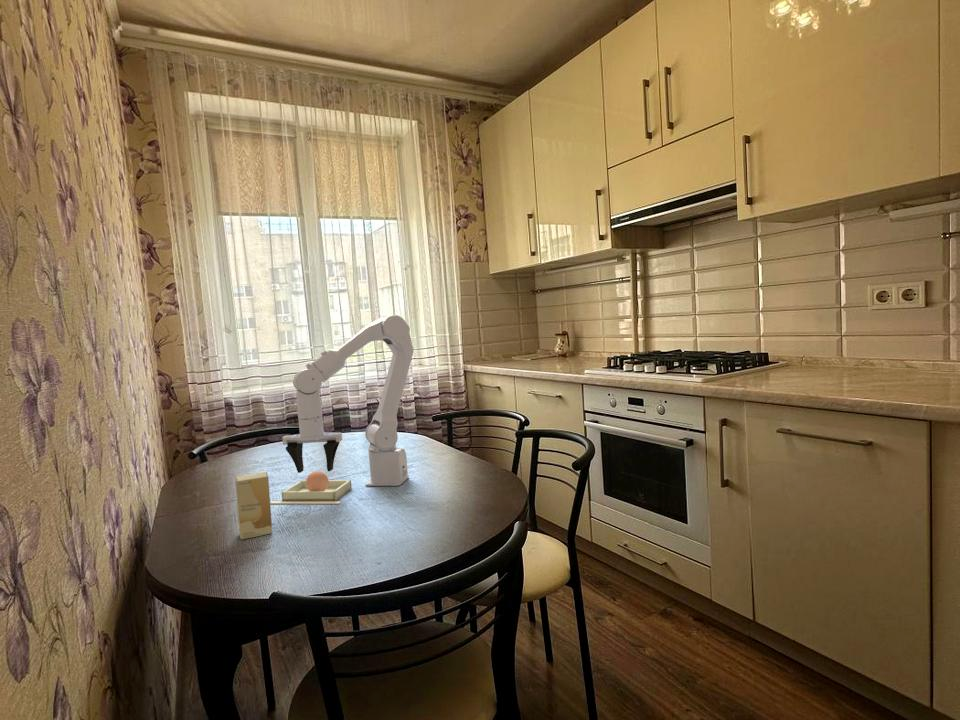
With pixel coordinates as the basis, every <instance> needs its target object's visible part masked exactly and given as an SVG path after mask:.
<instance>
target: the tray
mask: <svg viewBox="0 0 960 720" xmlns="http://www.w3.org/2000/svg"><path fill="white" fill-rule="evenodd" d="M328 480H329V479H328ZM350 490H352V480H351V479H348V480H347V479H345V480H344V479H341V480H340V479H335V480H334V479H332V480H329V483H328V486H327V488H326V489H325V490H324V491H309V490H308V489H307V487H306V480H299V481H298V482H296V483H295V484H293V485H291V486H290V487H288V488H286V489H285V490H283V491H281V493H280V494H281V501H338V500H339V499H340V498H341V497H343V496H344V495H346V493H348V492H349V491H350Z"/></svg>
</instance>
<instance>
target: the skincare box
mask: <svg viewBox="0 0 960 720" xmlns="http://www.w3.org/2000/svg"><path fill="white" fill-rule="evenodd" d="M234 478H235V491H236V504H237V517H238V519H237V520H238V521H237V522H238V531H239V538H240V540H246V539H250V538H255V537H261V536H265V535H269V534H270V533H271V534H273V525H272V511H271V504H270V502H271V498H270V497H271V496H270V494H271V493H270V485H269V484H270V483H269V482H270V481H269V480H270V479H269V475H268V471H264V472H258V473H251V474H250V473H249V474H245V475H238V476H235V477H234ZM271 534H270V535H271Z"/></svg>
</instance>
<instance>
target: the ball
mask: <svg viewBox="0 0 960 720" xmlns="http://www.w3.org/2000/svg"><path fill="white" fill-rule="evenodd" d="M305 481H306V487H307V489H308V490H309V491H324V490H325V489H326V488H327V486H328V483H329V477H328V475H327V474H326V473H325V472H323V471H321V470H315V471H312V472H311V473H310V474H308V475H307V477H306V479H305Z"/></svg>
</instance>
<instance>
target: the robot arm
mask: <svg viewBox="0 0 960 720" xmlns="http://www.w3.org/2000/svg"><path fill="white" fill-rule="evenodd" d="M410 329H411V327H410V326H409V324H408V323H407V322H406V320H405V319H404V318H403V317H401V316H400V315H397V314H392V315H390V316H389V315H388V316H387V315H383V316H380V317H379V318H378V319H376V320H375V321H372V322H371V323H369V324H367V325H366V326H365V327H363V328H362V329H361V330H360V331H358V332H357V333H356V334H354V336H352V337H351V338H350V339H348V341H346V342H344V344H343V345H341V346H340V347H338V349H333V348H330V349H328V350H326V349H324V350H322V352H320V354H321V355H320V356H319V357H318V358H316V359H315V360H313V361H312V362H311V363H309V362H308V363H306V364H305V367H306V368H305V369H301V370H298V371H297V372H296V373H295V375H294V377H293V381H292V385H293V387H294V388H295V389H296V394H295V395H296V407H297V408H296V409H297V417H298V428H299V429H298V431H299V434H290V435H284V436H282V437H281V439H282V445H284V446H285V445H286V447H285V450H286V452H287V453H288V454H289V456H290V458H291V459H292V461H293V463H294V465H295V468H296V472H297V473H298V474H301V473H302V472H303V471H304V459H303V458H304V457H303V447H304V446H303V445H304V444H309V443H324V444H323V449H324V454H325V459H326V468H327V472H332V471H333V470H334V464H335V457H336V454H337V449H338V447H339V445H340V443H341V441H343V434H342V432H329V431H328V432H326V431H325V430H324V429H325V428H324V421H323V409H322V401H321V396H320V388H321V387H322V383H325V382H327V381H328V380H329V379H331V378H332V377H333V376H335V374H337V373H338V372H340V371H341V370H342V369H343V368H345V365H346V364H345V363H346V360H347V359H348V358H350V357H351V356H353V355H354V354H356V353H357V352H358V351H360V350H361V349H362V348H364V347H365V346H366V345H367V344H369V343H371V342H375V341H383V342H384V343H385V344H386V345H387V347H388V348H389V349H390V351H391V353H392V355H391V360H390V363H389V366H388V370H387V375H386V377H385V382H384V385H383V389H382V392H381V396H380V399H379V404H378V408H377V411H376V412H375V413H374V414H373V416H372V419H371V422H370V423H369V425H367V426H366V429H365V431H364V432H365V433H364V434H365V439H366V440H367V442H368V443H370V444H369V446H368V447H367V448H368V449H367V450H368V460H369V463H368V464H369V474H370V475H369V476H370V480H368V481H367V482H366V483H365V484H364V485H365V486H367V487H370V486H371V487H373V486H374V487H376V486H377V487H378V486H381V487H382V486H383V487H384V486H385V487H389V486H391V487H392V486H393V487H398V486H401V485H402V484H403V483H404V482H405V481H407V480H408V478H409V477H410V475H409V473H408V459H407V452H406V450H405V449H404V448H398V447H397V445H396V444H397V442H398V432H397V431H398V430H397V428H398V425H399V423H398V417H397V415H398V412H399V407H400V404H401V400H402V398H403V397H402V396H403V393H404V389H405V385H406V381H407V377H408V374H409V370H410V366H411V362H412V358H413V356H414V346H413V341H412V338H411V333H410V331H411V330H410Z"/></svg>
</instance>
